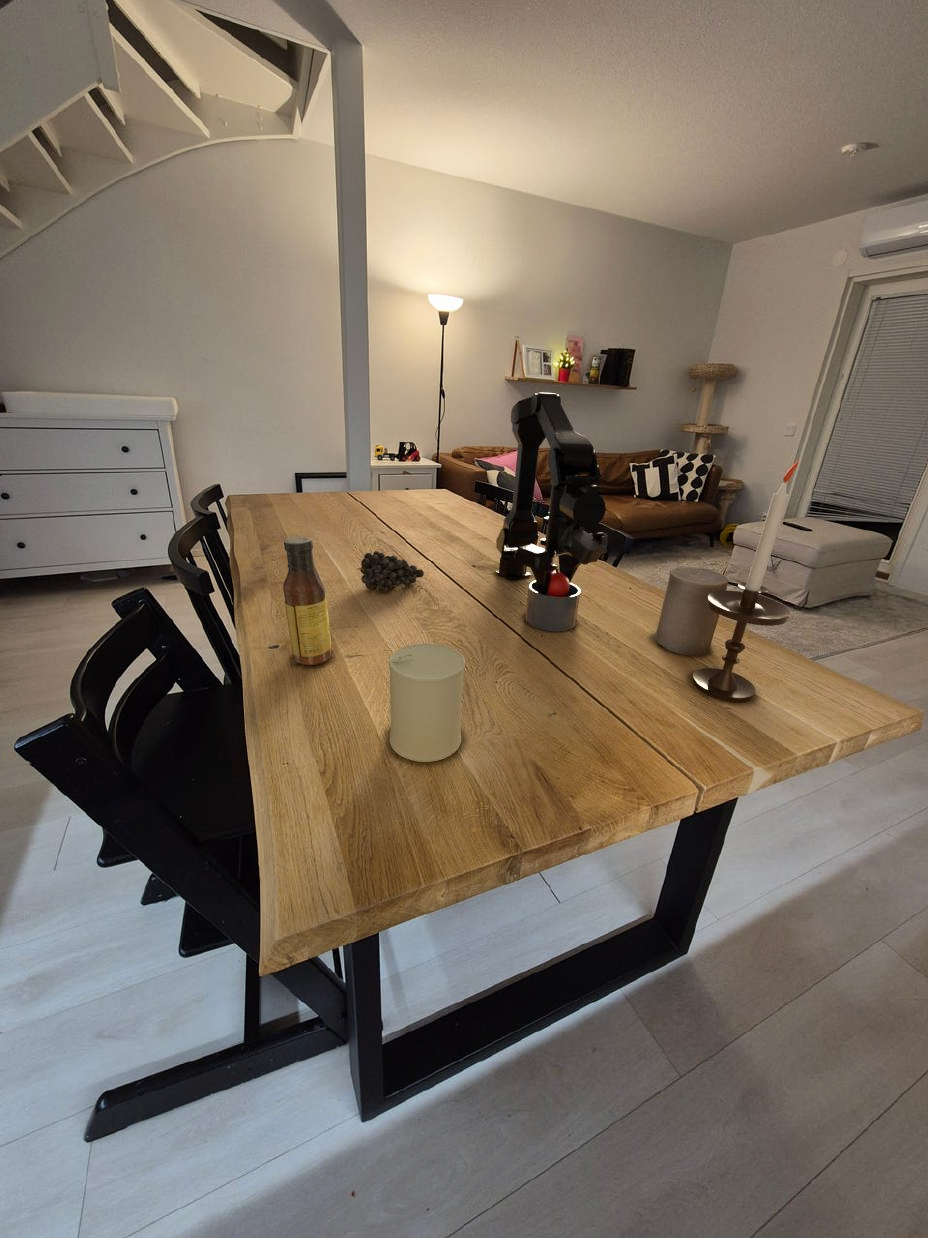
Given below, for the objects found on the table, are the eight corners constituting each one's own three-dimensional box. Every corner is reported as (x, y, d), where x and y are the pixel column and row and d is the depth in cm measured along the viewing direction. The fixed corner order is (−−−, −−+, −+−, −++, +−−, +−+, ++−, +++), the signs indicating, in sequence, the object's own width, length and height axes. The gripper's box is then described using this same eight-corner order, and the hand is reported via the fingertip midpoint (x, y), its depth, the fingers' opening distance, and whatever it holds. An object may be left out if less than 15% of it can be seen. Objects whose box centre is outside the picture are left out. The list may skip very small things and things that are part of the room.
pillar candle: (709, 639, 96) (730, 565, 90) (708, 661, 88) (732, 581, 82) (656, 628, 100) (673, 555, 93) (651, 648, 92) (669, 570, 85)
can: (391, 717, 68) (390, 639, 63) (458, 717, 69) (462, 639, 64) (387, 763, 60) (385, 676, 55) (464, 761, 61) (469, 676, 56)
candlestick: (774, 694, 79) (857, 463, 64) (734, 713, 73) (815, 466, 59) (711, 664, 87) (773, 453, 73) (671, 679, 82) (729, 454, 67)
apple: (551, 591, 102) (555, 561, 100) (573, 600, 98) (578, 569, 96) (533, 597, 99) (536, 566, 96) (554, 606, 95) (558, 574, 92)
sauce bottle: (339, 653, 84) (332, 537, 76) (317, 670, 79) (307, 548, 70) (306, 645, 86) (295, 532, 78) (282, 662, 80) (268, 541, 72)
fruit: (421, 543, 114) (355, 545, 108) (433, 564, 109) (364, 569, 103) (416, 573, 120) (353, 577, 114) (427, 595, 114) (361, 601, 108)
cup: (548, 607, 107) (552, 576, 104) (585, 623, 100) (591, 590, 97) (515, 617, 101) (518, 585, 98) (552, 635, 94) (557, 601, 91)
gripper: (565, 530, 81) (553, 618, 87) (631, 517, 92) (616, 596, 98) (516, 515, 88) (508, 597, 95) (583, 505, 99) (572, 579, 106)
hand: (553, 593), depth 98 cm, fingers closed on apple, 5 cm apart
